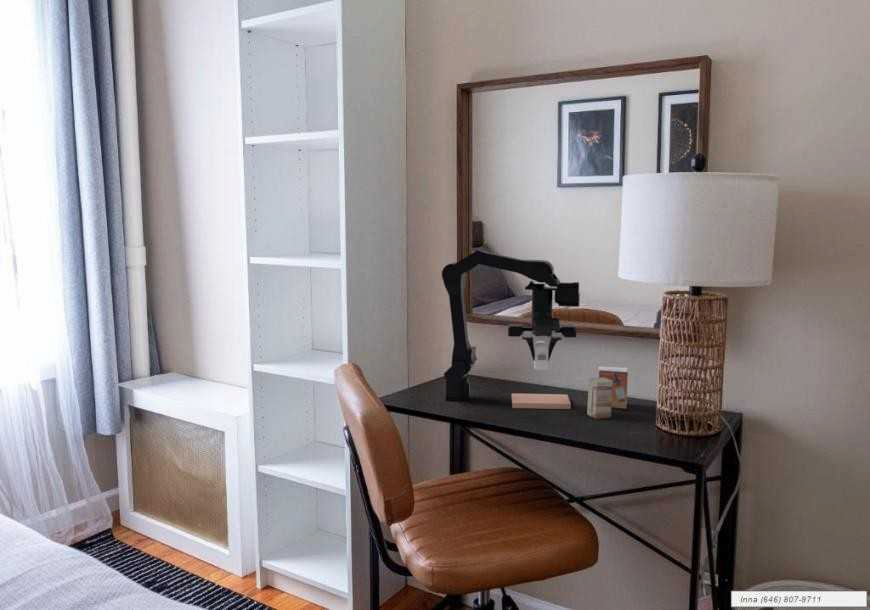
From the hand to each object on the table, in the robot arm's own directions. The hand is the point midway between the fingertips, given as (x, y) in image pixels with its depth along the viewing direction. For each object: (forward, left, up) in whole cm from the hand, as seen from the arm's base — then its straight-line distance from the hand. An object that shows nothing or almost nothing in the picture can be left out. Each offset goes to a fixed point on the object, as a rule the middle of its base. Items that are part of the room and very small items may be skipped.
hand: (540, 360), depth 203 cm
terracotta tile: (0, 0, -12) cm, 13 cm away
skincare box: (+15, -11, -13) cm, 23 cm away
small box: (+20, 0, -13) cm, 24 cm away
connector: (0, 0, -2) cm, 2 cm away
